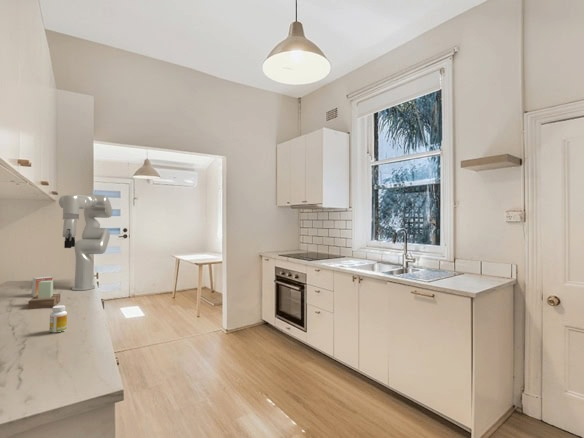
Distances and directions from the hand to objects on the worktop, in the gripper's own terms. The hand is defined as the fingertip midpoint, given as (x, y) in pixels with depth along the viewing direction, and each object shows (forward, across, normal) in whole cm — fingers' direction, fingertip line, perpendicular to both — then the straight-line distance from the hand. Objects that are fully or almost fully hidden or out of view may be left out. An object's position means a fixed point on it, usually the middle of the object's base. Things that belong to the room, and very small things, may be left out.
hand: (69, 247), depth 179 cm
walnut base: (+28, +15, -7) cm, 33 cm away
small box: (+29, -10, -14) cm, 33 cm away
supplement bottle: (+28, +64, +8) cm, 71 cm away
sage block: (+24, +15, -7) cm, 29 cm away
